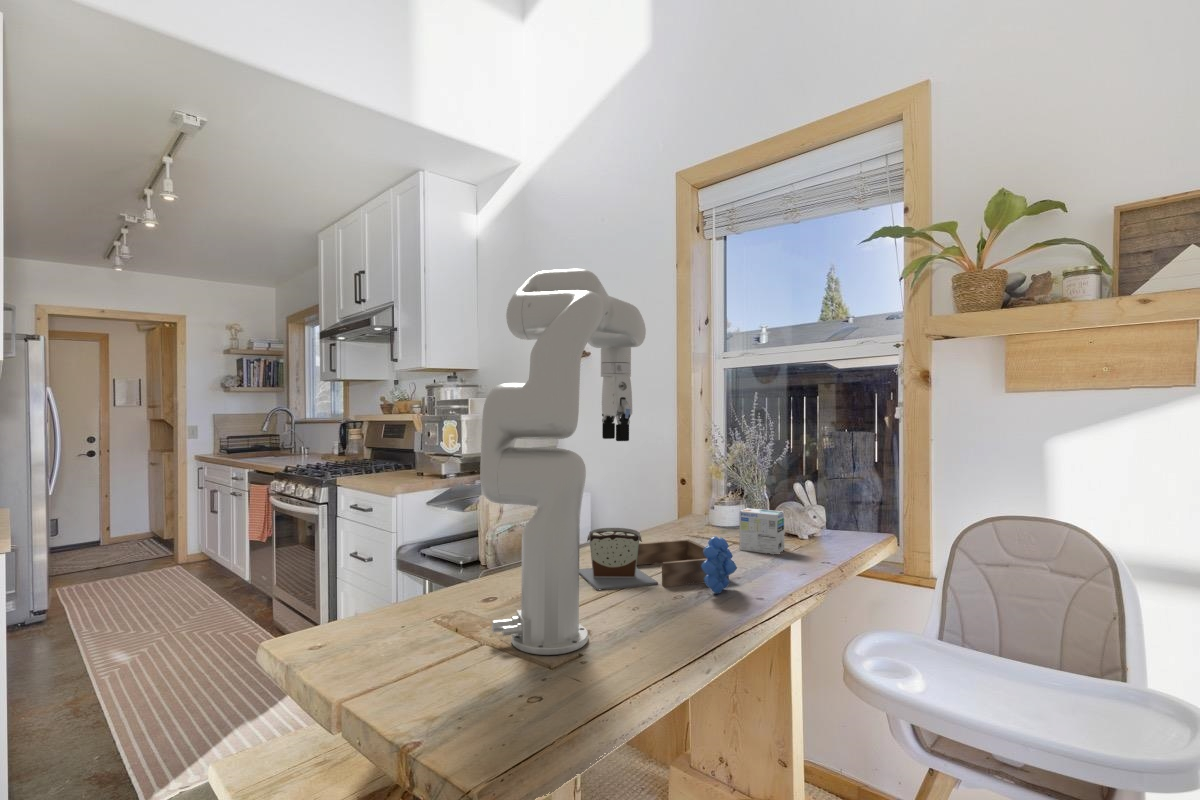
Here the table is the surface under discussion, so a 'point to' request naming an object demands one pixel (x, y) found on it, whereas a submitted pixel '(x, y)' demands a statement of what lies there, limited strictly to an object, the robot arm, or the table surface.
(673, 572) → the open side box
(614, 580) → the gray mat
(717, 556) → the grapes
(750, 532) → the light bulb box
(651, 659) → the table surface
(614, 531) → the food container
